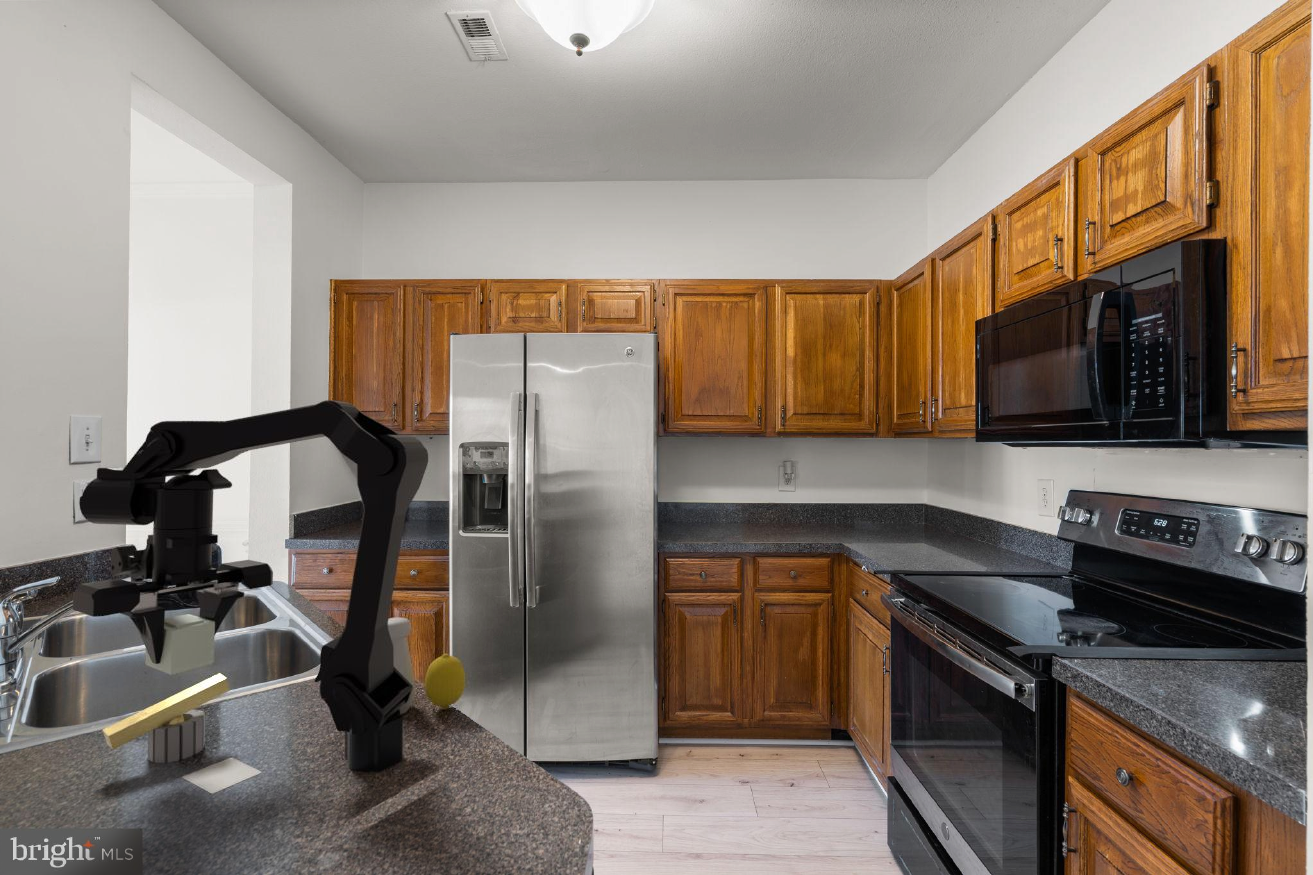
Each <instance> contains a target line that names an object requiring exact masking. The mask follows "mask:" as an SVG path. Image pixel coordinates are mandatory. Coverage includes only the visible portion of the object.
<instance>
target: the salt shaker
mask: <svg viewBox="0 0 1313 875" xmlns="http://www.w3.org/2000/svg"><path fill="white" fill-rule="evenodd" d="M388 630H389V634H390V637H391V640H392V643H393V651H394V667H395V668H396V669H397V670H398V671H399V672H400V673H401V674H402V675H403V676H404V677H405V678H406V679H407V680H408V681H409V682H410V684H411V685H412V686H413V689H412V692H411V695H410V697H409V700H408V702H407V703H404V704H403V705H402V706H401V707H400V708H399V710H400V715H402V714H406V713H407V711H408V710H409V709H410V708H411V705H412V703H413V700H414V699H415V696H416V690H417V689H416V681H415V677H414V671H413V670H414V669H413V666H412V660H411V659H412V658H411V654H410V649H409V648H410V647H409V642H408V638H407V637H408V636H409V635H410V633H411V631H412V624H411V621H410V620H409V619H408V618H406V617H400V616H399V617H397V616H396V617H389V619H388Z"/></svg>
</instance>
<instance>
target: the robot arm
mask: <svg viewBox="0 0 1313 875" xmlns="http://www.w3.org/2000/svg"><path fill="white" fill-rule="evenodd" d="M325 437H326V438H327V439H328V440H329V441H331V443H332V444H333V445H334V446H335V447H336V449H337V450H338V451H339V452H340V453H341V454H342V455H343V456H344V457H346V458H348V459H349V460H350V461H352V462H353V463H355V464H356V485H357V489H358V492H359V496H360V499H361V502H362V506H363V515H362V522H361V527H360V531H359V539H358V546H357V551H356V558H355V564H354V568H353V576H352V581H351V582H352V583H351V588H350V593H349V600H348V605H347V613H346V618H345V626H344V628H343V631H342V633H341V634H340V635H338V636H337V637H335V638H334V639H332V640H331V641H329V642H326V643H325V644H324V645H323V644H322V646H321V650H320V652H319V653H320V654H319V658H320V660H319V662H320V664H319V670H318V673H317V675H316V677H315V679H314V682H315V683H319V682H320V683H319V689H318V691H319V695H320V699H321V700H322V701H324V703H325V704H326V706H328V709H329V711H330V714H331V717H332V720H333V723H334V725H335V729H336V731H338V732H344V757H345V760H346V761H347V768H348V769H349V770H351V771H353V772H359V773H361V772H362V773H369V772H376V773H381V772H383V771H385V770H388V769H389V768H391V767H393V766H395V765H397V764H399V763H402V761H403V759H404V715H402V714H400V710H399V708H400V707H401V706H402V705H403V704H404V703H407V702H408V700H409V697H410V695H411V692H412V689H413V686H412V685H411V684H410V682H409V681H408V680H407V679H406V678H405V677H404V676H403V675H402V674H401V673H400V672H399V671H398V670H397V669H396V668H395V667H394V651H393V643H392V640H391V637H390V634H389V630H388V619H390V612H391V605H392V600H393V594H394V589H395V588H394V587H395V580H396V577H397V576H396V575H397V570H398V564H399V563H398V562H399V557H400V553H401V552H400V551H401V545H402V539H403V532H404V526H405V522H406V521H405V519H406V514H407V511H408V509H409V507H410V506H411V503H412V502H413V500H414V498H415V496H416V495H417V493H418V491H419V490H420V487H421V484H422V481H423V479H424V475H425V473H426V469H427V468H428V463H429V453H428V449H427V448H426V447H425V446H424V444H423V443H422V442H421V441H420V440H419V439H418V438H417V437H415V436H413V435H412V436H411V435H409V434H408V435H407V434H400V433H398V432H397V431H396V430H394V429H393V428H391V427H389V426H387V425H385V424H384V423H382V422H379V421H378V420H376V419H375V418H373V417H370V416H369V415H367V414H365V413H364V412H362V411H361V410H359V408H357V407H356V406H354V405H353V404H352V403H350V402H346V401H339V400H330V399H327V400H322V401H320V402H318V403H315V404H311V405H310V404H309V405H306V406H300V407H294V408H289V409H284V410H278V411H273V412H268V413H267V412H266V413H261V414H257V415H252V416H246V417H245V416H244V417H241V418H236V419H230V420H165V421H164V420H163V421H160V422H157V423H155V424H153V425H151V427H150V429H149V432H148V433H147V435H146V438H145V441H144V442H142V445H140V447H139V448H138V450H137V451H136V452H135V453H134V455H133V456H132V457H131V458H130V460H129V461H128V462H127V464H126V465H125V466H124V467H115V466H113V467H111V466H110V467H108V466H107V467H98V468H97V469H96V477H95V478H94V479H92V480H91V481H90V482H88V484H87V485H86V486H85V487H84V490H83V492H82V495H81V496H80V497H79V510H80V513H81V515H82V516H83V517H84V519H85V520H86V521H88V523H89V522H90V523H92V524H97V525H124V526H125V525H126V526H148V525H150V524H153V527H152V534H148V535H147V538H146V546H145V548H144V549H137V547H136V545H135V544H133V545H132V544H130V545H121V546H115V547H114V548H112V549H111V553H110V568H111V569H110V570H111V573H112V575H113V576H115V577H116V576H123V575H129V576H130V581H128V580H125V579H121V578H112V579H106V580H100V581H91V582H85V583H81V584H80V585H78V587H76V589H75V590H74V592H73V594H72V610H74V611H76V612H79V613H81V614H84V615H88V616H90V617H93V618H96V617H105V616H112V615H117V614H119V615H120V614H121V615H123V616H127V617H128V618H129V619H130V620H131V621H132V623H133V624H134V626H135V628H136V629H137V631H138V633H139V635H140V638H141V639H142V643H143V644H144V647H145V650H146V649H147V652H148V654H149V656H150V659H151V661H152V663H154V664H159V663H160V661H161V657H162V652H163V637H164V620H165V618H166V616H165V615H166V608H165V607H162V606H160V605H158V598H159V597H164V596H165V597H166V596H170V595H175V594H176V595H177V594H183V593H189V592H195V591H196V592H195V593H196V596H197V600H198V603H199V616H198V617H201V618H204V619H207V620H211V621H214V622H215V635H214V637H216V634H217V632H218V630H219V628H220V627H221V625H222V623H223V622H224V619H225V618H226V617H227V615H228V614H229V612H230V610H231V609H232V607H233V606H234V604H235V603H236V601H237V600H238V599H242V598H244V597H245V592H244V591H239V585H240V583H241V585H242V586H244V587H245V588H246V589H248V590H254V589H259V588H265V587H266V588H267V587H271V586H273V584H274V583H273V582H274V573H273V572H274V571H273V569H272V567H271V565H270V564H268V563H266V562H261V561H257V560H250V559H245V560H238V561H230V562H224V563H221V564H220V566H219V567H218V569H217V568H214V567H212V558H213V557H212V554H213V553H212V551H213V545H215V544H218V542H219V536H218V535H219V534H215V533H213V522H214V521H213V518H214V516H213V515H214V514H213V511H214V490H215V491H216V490H223V489H230V488H232V487H233V483H232V482H231V481H230V480H229V479H227V477H225V476H223V475H222V474H221V473H220V471H219V469H217V468H211V467H215V466H218V465H220V464H223V463H225V462H228V461H231V460H233V459H235V458H236V457H239V455H242V454H244V453H247V452H249V451H252V450H259V449H263V448H269V447H276V446H281V445H285V444H286V445H287V444H292V443H296V442H297V443H298V442H302V441H307V440H314V439H318V438H325ZM199 469H200V470H201V469H203V470H202V471H201V472H199V473H198V474H192V473H194V472H195V471H197V470H199ZM167 477H171V478H169V479H168V480H166V479H167ZM144 580H145V581H146V582H145V581H144ZM147 580H151V581H147ZM143 581H144V582H143Z"/></svg>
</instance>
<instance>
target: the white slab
mask: <svg viewBox="0 0 1313 875" xmlns="http://www.w3.org/2000/svg"><path fill="white" fill-rule="evenodd" d="M205 715H206V713H205V711H202V710H200V709H193V710H191V711H189V712H187V713H185V714H183V718H184V722H181V723H177V724H171V725H164V724H163V725H161V726H159V727H157V728H155V729H153V730H151V731H149V732H147V761H149V762H151V763H154V764H165V763H172V762H179V761H180V759H182V760H185V759H188V758H191V757H193V756H194V755H197V754H199V753H200V752H201V751H202V750H204V747H205V741H206V740H205V737H206V736H205V734H206V732H205V731H206V730H205V729H206V727H205V726H206V723H205V722H206V721H205V720H206V719H205V718H206V717H205ZM261 774H263V771H262V770H261V771H260V770H259V769H257V768H254V767H252V766H250V765H248V764H246V763H245V762H244V763H243V762H242V761H240V760H238V759H236V758H235V757H229V758H226V759H224V760H222V761H219V762H217V763H214V764H211V765H209V766H206V767H203V768H202V769H198V770H196V771H194V772H191V773H188V774H186V775H183V776H181V778H182V779H184V781H187V782H189V783H191V784H193V785H194V786H197V787H198V788H200V789H201V790H202V791H206V792H207V793H208V794H211V795H214V794H216V793H218V792H220V791H222V790H225V789H227V788H230V787H232V786H234V785H237V784H239V783H242V782H244V781H247V780H249V779H251V778H254V777H255V776H257V775H261Z"/></svg>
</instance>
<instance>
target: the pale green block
mask: <svg viewBox="0 0 1313 875" xmlns="http://www.w3.org/2000/svg"><path fill="white" fill-rule="evenodd" d="M214 635H215V636H216V634H215V622H214V621H211V620H207V619H204V618H201V617H199V616H197V615H194V614H191V613H190V614H189V613H188V614H181V615H175V616H171V617H165V620H164V637H163V652H162V657H161V661H160V663H159V664H154V663H152V661H151V659H150V656H149V654H148V652H147V649H146V648H145V666H147V667H149V668H153V669H155V670H157V671H160V672H161V673H165V674H167V675H171V676H172V675H175V674H179V673H183V672H187V671H190V670H195V669H198V668H202V667H205V666H209V665H213V664H215V663H214V662H215V636H214Z"/></svg>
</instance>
